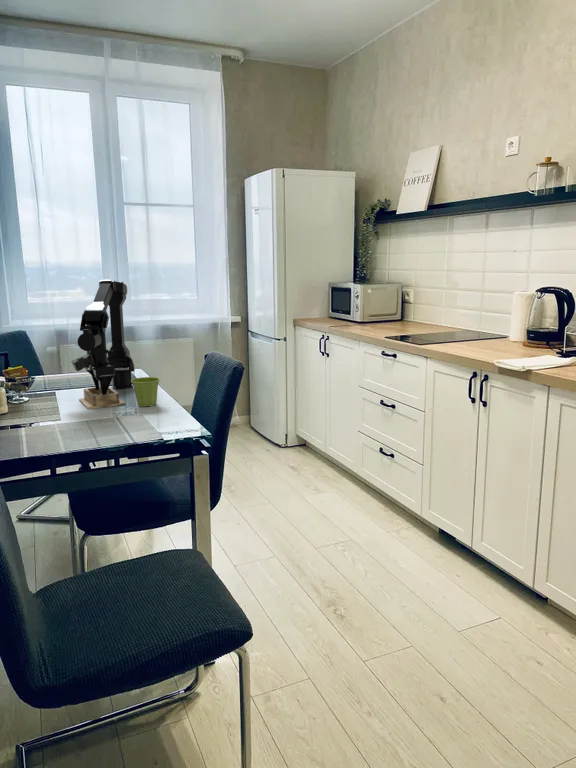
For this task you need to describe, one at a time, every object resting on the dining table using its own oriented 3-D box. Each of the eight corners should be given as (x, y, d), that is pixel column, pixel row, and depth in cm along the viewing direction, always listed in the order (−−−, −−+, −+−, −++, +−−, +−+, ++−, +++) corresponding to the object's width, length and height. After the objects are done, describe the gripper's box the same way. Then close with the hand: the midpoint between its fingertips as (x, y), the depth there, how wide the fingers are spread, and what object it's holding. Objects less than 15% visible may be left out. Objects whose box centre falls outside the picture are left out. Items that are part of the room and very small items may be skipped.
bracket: (105, 398, 202) (104, 378, 201) (108, 401, 199) (107, 380, 198) (92, 400, 200) (90, 380, 199) (95, 402, 197) (93, 382, 195)
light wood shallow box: (113, 396, 209) (113, 385, 208) (125, 404, 196) (124, 392, 196) (78, 400, 203) (78, 389, 202) (88, 409, 190) (87, 397, 190)
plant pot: (126, 406, 194) (124, 380, 192) (145, 400, 202) (144, 375, 200) (148, 409, 189) (146, 383, 188) (167, 403, 197) (165, 378, 196)
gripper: (67, 345, 200) (70, 390, 203) (78, 352, 184) (82, 400, 187) (100, 343, 205) (103, 386, 208) (113, 349, 190) (117, 396, 193)
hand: (100, 392), depth 199 cm, fingers open, 9 cm apart
